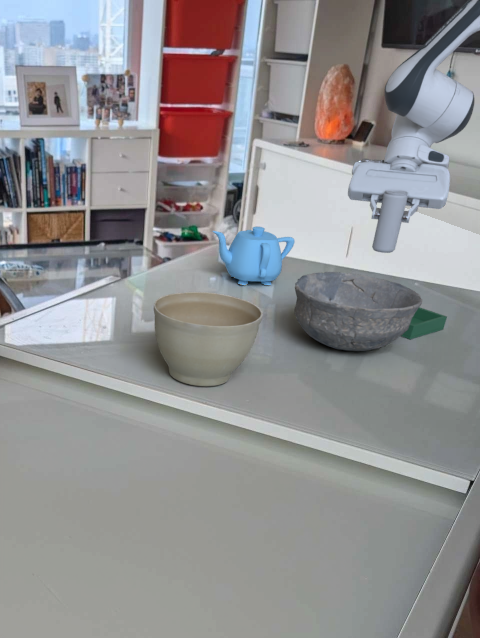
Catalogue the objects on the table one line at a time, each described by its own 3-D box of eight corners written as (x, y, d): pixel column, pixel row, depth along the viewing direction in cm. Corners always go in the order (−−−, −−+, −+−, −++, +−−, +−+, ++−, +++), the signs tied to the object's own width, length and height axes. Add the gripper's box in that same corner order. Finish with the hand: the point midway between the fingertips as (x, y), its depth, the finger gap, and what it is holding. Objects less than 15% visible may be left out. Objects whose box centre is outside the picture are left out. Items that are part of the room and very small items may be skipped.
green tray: (397, 313, 148) (400, 300, 146) (443, 329, 141) (447, 316, 139) (363, 322, 143) (366, 309, 141) (410, 339, 136) (413, 326, 134)
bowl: (433, 359, 128) (451, 301, 123) (338, 376, 120) (352, 315, 115) (350, 319, 144) (362, 266, 138) (261, 332, 136) (270, 276, 130)
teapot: (290, 284, 163) (301, 229, 157) (256, 294, 153) (266, 237, 148) (240, 271, 170) (249, 219, 164) (204, 281, 160) (212, 225, 154)
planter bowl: (269, 392, 114) (282, 322, 108) (170, 401, 110) (177, 329, 104) (225, 352, 127) (234, 288, 121) (134, 359, 123) (139, 293, 117)
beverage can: (372, 252, 163) (385, 193, 157) (370, 246, 167) (383, 188, 161) (395, 254, 162) (409, 194, 156) (393, 248, 166) (407, 190, 160)
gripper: (356, 148, 163) (341, 204, 161) (457, 157, 157) (443, 215, 155) (354, 167, 169) (339, 222, 167) (452, 176, 163) (438, 233, 161)
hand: (390, 219), depth 161 cm, fingers closed on beverage can, 5 cm apart
